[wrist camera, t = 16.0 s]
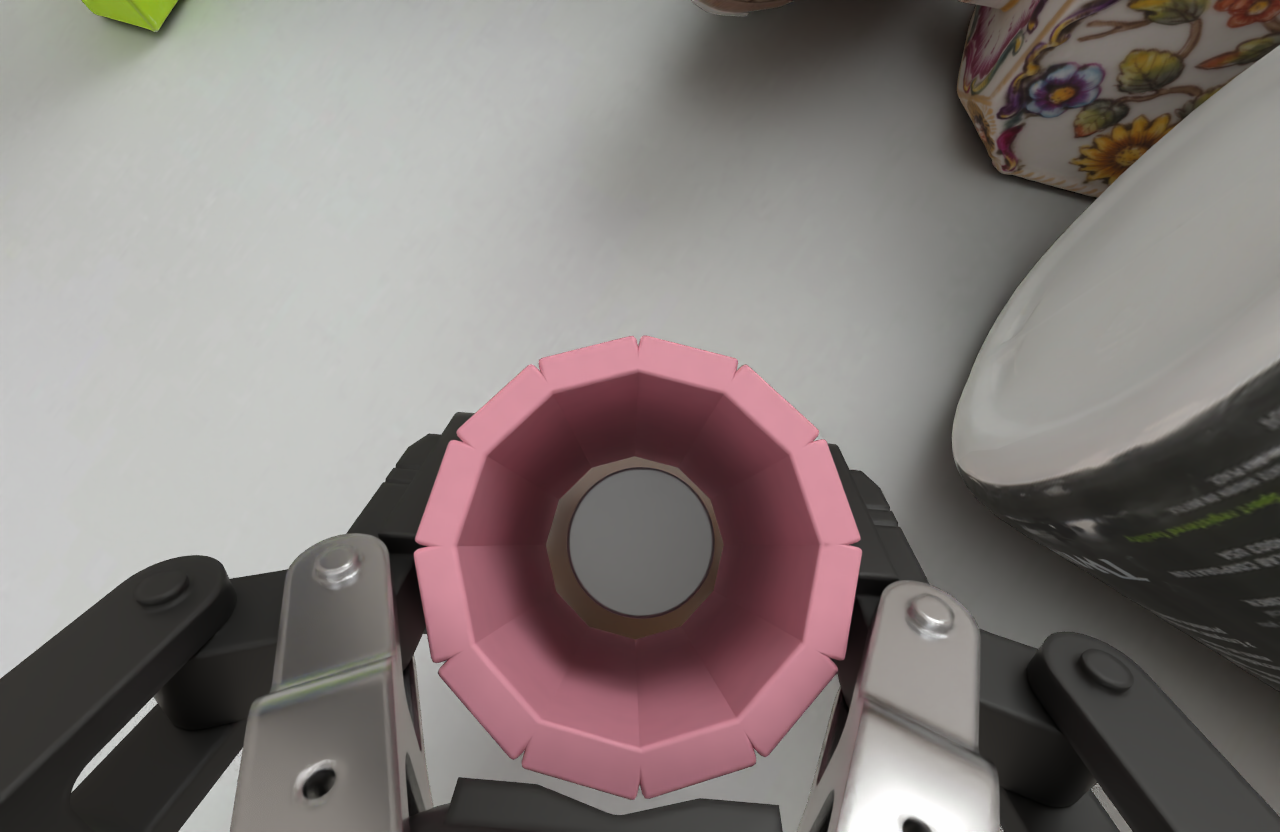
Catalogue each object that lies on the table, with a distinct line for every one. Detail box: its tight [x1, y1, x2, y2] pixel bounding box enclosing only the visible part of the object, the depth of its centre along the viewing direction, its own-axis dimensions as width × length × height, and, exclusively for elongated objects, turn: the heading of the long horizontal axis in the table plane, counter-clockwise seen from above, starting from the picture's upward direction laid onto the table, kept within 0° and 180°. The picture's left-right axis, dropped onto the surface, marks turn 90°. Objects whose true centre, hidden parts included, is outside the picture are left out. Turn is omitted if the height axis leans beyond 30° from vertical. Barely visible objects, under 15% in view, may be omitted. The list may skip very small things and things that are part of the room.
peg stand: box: [546, 456, 724, 640], centre depth 15 cm, size 8×8×12 cm
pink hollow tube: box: [414, 336, 862, 800], centre depth 11 cm, size 6×6×8 cm
